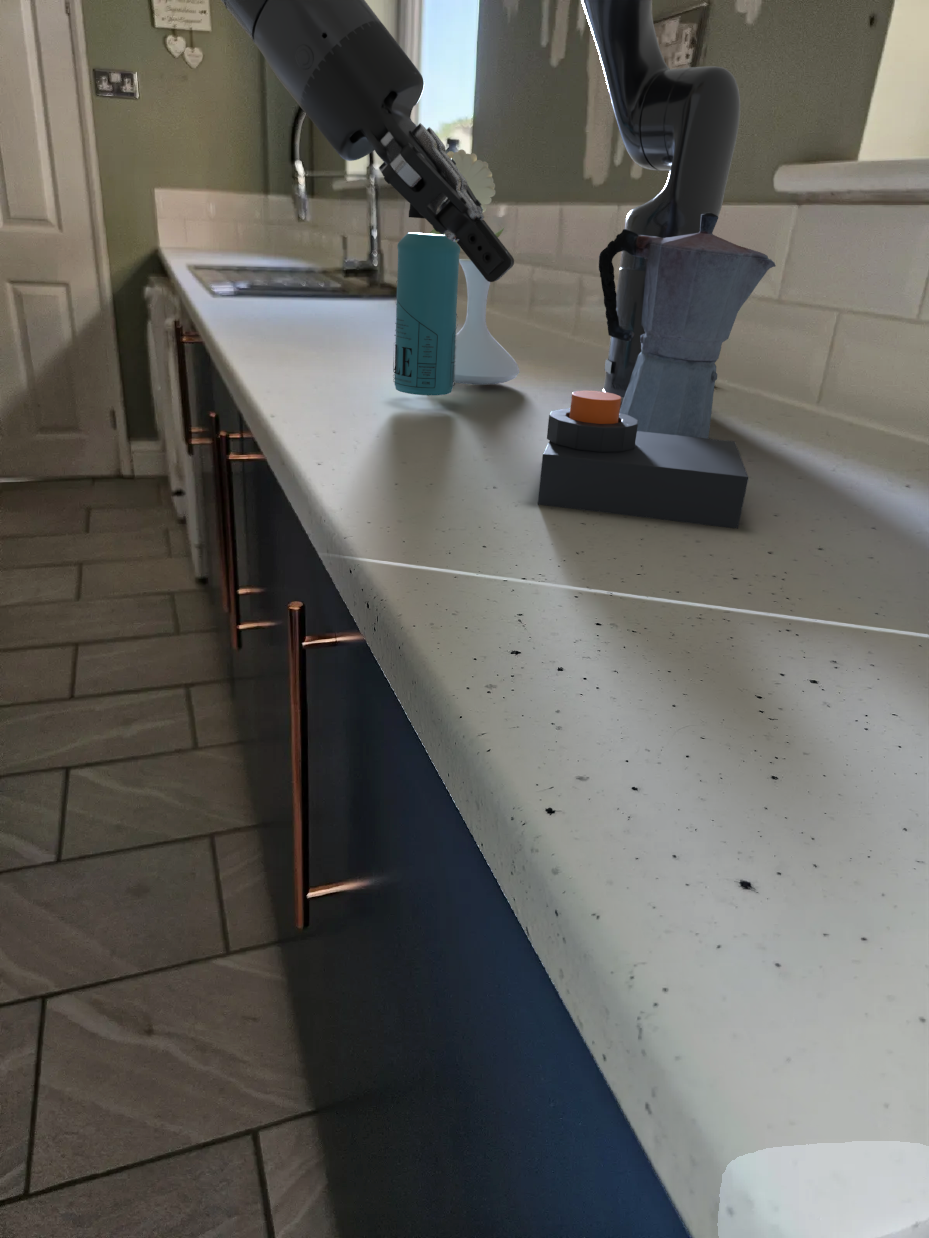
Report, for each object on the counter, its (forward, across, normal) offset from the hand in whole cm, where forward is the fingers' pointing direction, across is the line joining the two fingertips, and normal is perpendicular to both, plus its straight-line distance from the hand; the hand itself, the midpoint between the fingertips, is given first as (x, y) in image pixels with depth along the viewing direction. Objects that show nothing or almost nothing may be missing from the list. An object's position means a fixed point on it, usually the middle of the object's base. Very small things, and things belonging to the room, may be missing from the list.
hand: (503, 273), depth 62 cm
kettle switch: (+12, 0, +2) cm, 12 cm away
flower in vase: (+4, +41, +18) cm, 45 cm away
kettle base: (+19, 0, +2) cm, 19 cm away
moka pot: (+20, +20, +2) cm, 29 cm away
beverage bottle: (+2, +25, +19) cm, 31 cm away
